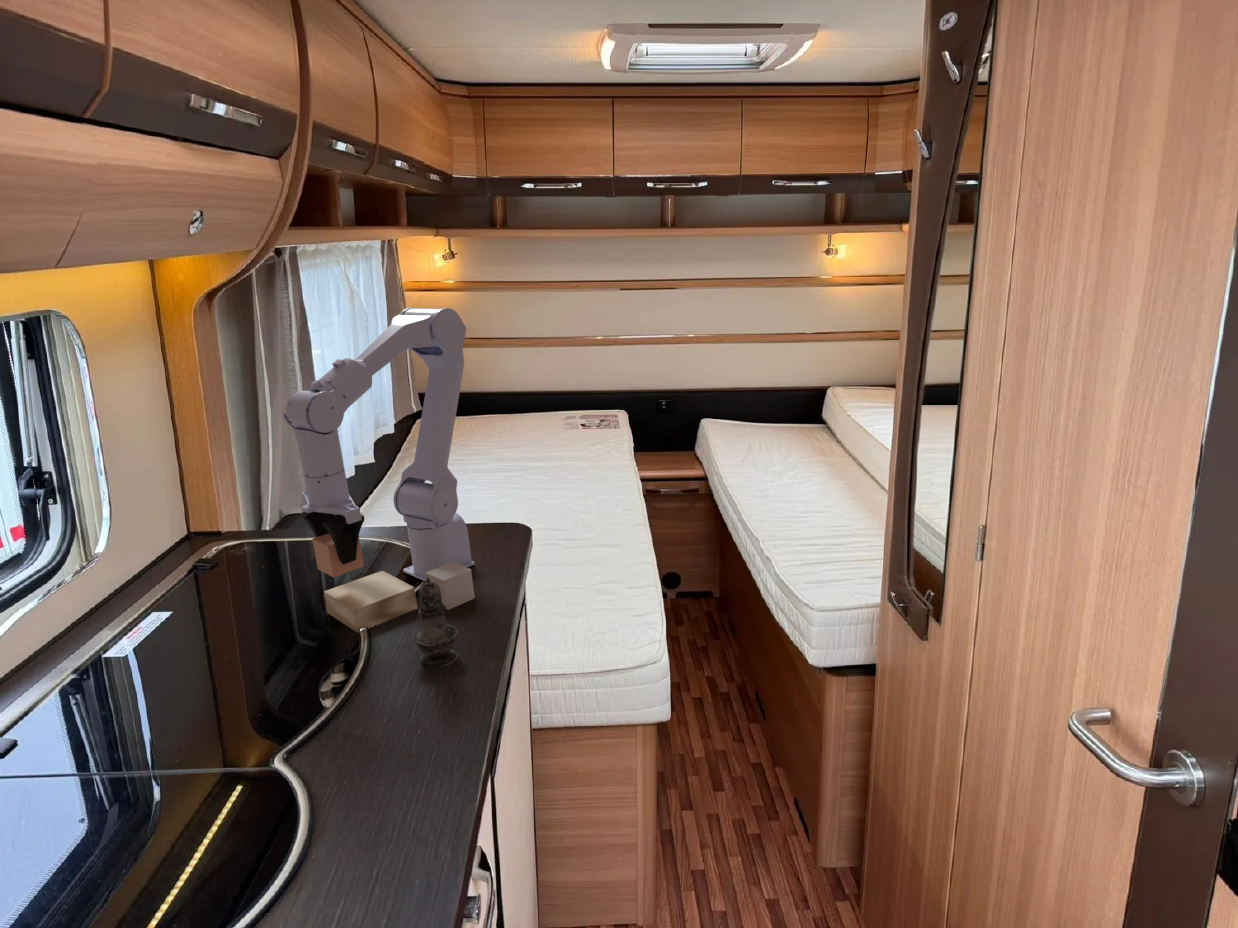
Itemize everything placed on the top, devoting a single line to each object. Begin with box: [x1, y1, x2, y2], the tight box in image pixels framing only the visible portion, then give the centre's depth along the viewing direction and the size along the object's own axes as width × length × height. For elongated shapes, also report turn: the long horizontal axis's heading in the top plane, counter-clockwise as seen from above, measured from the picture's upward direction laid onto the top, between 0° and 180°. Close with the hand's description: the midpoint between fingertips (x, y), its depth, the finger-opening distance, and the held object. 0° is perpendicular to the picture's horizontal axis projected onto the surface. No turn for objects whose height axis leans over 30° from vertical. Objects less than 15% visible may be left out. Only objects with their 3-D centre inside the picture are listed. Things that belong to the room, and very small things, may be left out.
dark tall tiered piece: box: [413, 577, 460, 669], centre depth 116 cm, size 6×6×12 cm
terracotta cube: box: [311, 533, 365, 578], centre depth 130 cm, size 5×5×5 cm
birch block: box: [323, 570, 418, 633], centre depth 133 cm, size 10×10×4 cm
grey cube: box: [426, 562, 475, 610], centre depth 135 cm, size 5×5×5 cm
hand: (339, 557), depth 130 cm, fingers closed on terracotta cube, 5 cm apart
